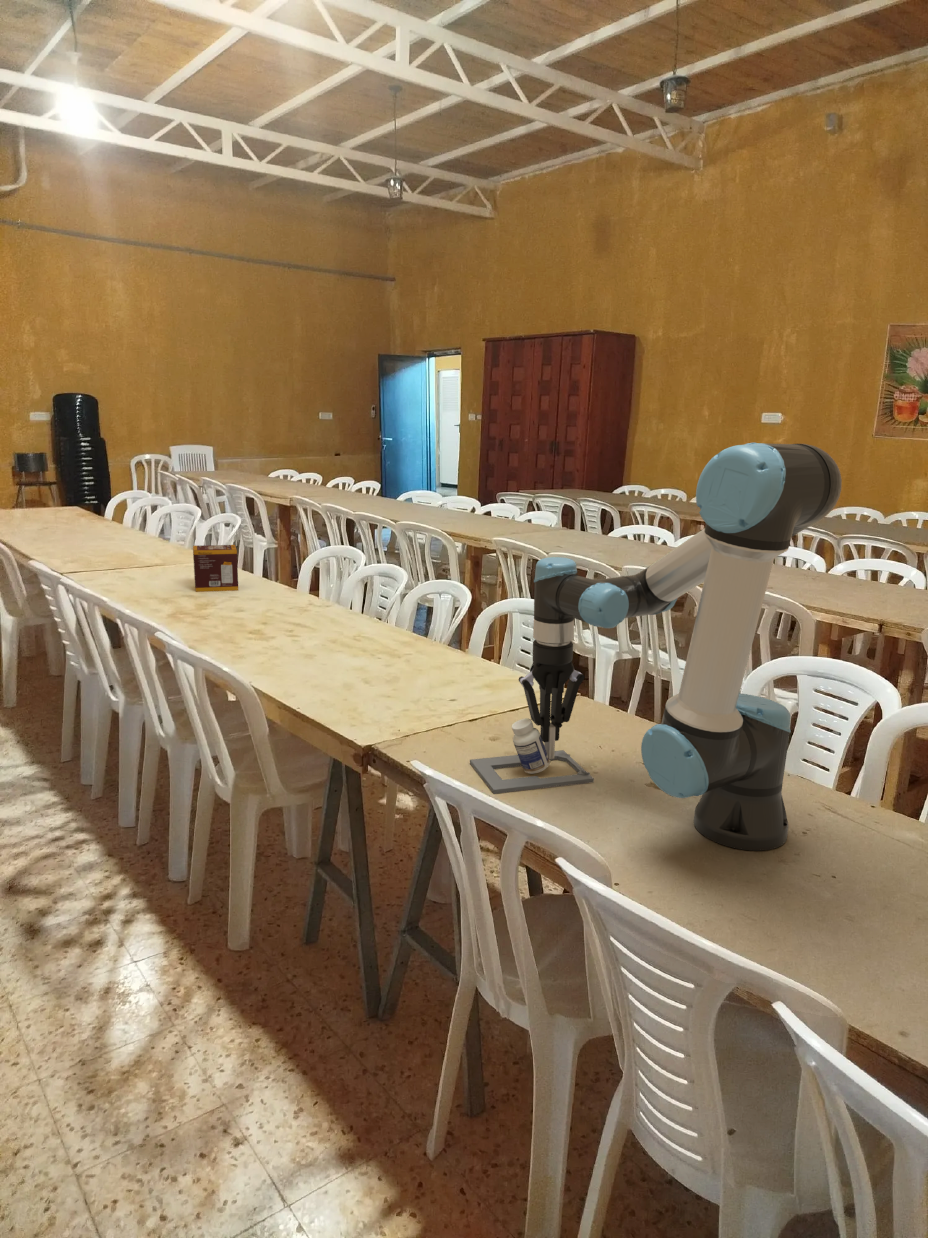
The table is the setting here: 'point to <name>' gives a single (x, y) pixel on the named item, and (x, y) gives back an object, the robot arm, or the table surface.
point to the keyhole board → (526, 783)
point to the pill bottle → (529, 746)
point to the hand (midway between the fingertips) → (549, 756)
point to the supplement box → (215, 568)
